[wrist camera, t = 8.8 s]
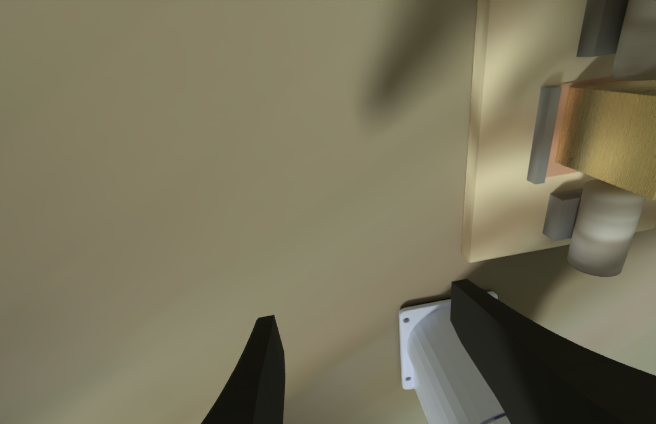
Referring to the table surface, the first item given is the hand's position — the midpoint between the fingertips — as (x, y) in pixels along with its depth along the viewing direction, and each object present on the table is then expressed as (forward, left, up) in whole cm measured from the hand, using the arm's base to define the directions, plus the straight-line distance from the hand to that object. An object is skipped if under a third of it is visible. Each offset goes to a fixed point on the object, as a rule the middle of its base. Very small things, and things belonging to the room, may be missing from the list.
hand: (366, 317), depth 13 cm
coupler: (+4, -16, -8) cm, 18 cm away
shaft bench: (+4, -16, -9) cm, 19 cm away
